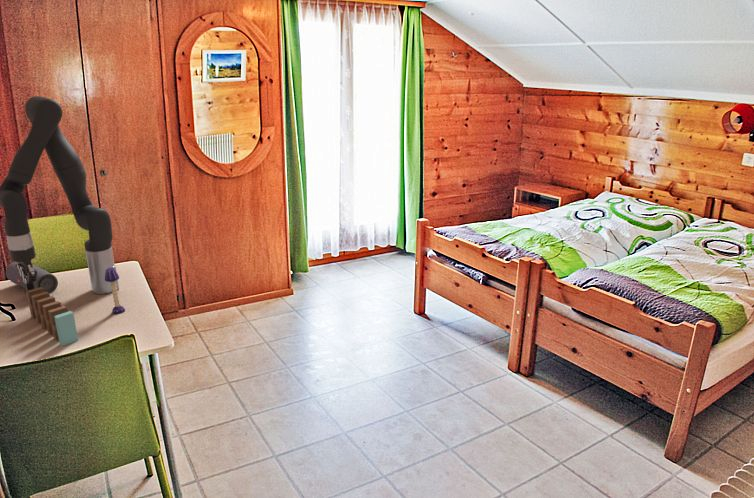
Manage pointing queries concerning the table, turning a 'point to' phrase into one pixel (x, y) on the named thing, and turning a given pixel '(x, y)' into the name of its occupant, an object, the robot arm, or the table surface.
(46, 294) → the domino
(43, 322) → the domino
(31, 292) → the domino
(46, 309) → the domino
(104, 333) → the table surface
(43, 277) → the bluetooth speaker
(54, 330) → the domino
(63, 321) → the domino
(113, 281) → the toy lamp
